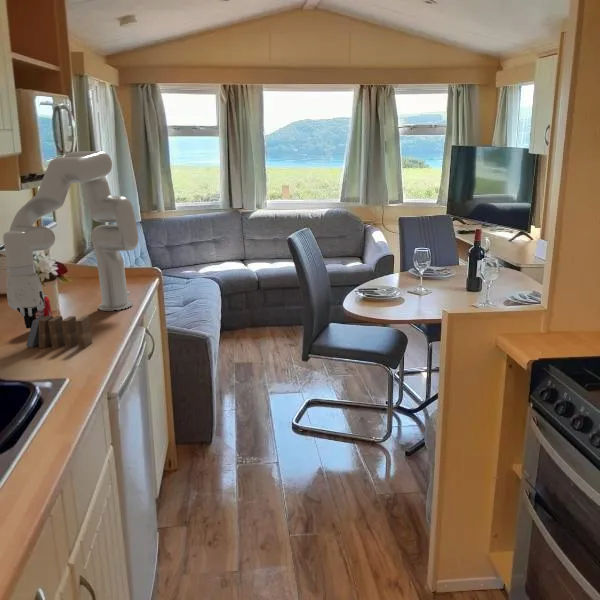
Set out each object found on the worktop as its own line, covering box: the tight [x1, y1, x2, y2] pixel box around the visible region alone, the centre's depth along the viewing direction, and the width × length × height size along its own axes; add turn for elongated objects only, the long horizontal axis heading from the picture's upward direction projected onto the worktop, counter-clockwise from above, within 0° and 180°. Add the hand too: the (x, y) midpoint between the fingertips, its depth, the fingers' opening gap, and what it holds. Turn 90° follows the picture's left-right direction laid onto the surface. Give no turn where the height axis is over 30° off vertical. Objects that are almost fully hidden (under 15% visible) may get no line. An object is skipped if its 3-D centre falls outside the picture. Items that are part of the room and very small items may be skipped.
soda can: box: [35, 293, 53, 319], centre depth 213 cm, size 7×7×12 cm
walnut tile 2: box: [38, 315, 54, 349], centre depth 196 cm, size 2×5×9 cm, turn 171°
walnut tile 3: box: [48, 315, 65, 349], centre depth 196 cm, size 2×5×9 cm, turn 171°
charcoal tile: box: [25, 316, 44, 349], centre depth 197 cm, size 2×5×9 cm, turn 172°
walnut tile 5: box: [75, 315, 93, 350], centre depth 195 cm, size 2×5×9 cm, turn 171°
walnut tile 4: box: [62, 315, 78, 349], centre depth 195 cm, size 2×5×9 cm, turn 172°
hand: (31, 327), depth 197 cm, fingers closed
